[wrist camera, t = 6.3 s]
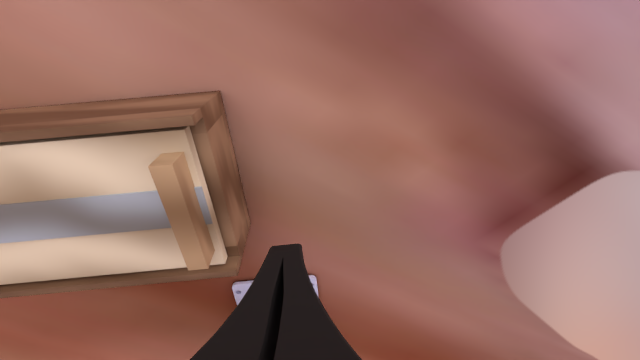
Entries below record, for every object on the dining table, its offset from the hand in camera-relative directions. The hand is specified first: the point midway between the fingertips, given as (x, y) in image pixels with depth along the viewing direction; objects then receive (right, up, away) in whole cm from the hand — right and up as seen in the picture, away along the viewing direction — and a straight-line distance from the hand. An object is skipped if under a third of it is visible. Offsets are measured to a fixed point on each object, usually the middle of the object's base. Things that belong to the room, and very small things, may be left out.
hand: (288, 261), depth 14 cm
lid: (-13, +2, +5) cm, 14 cm away
